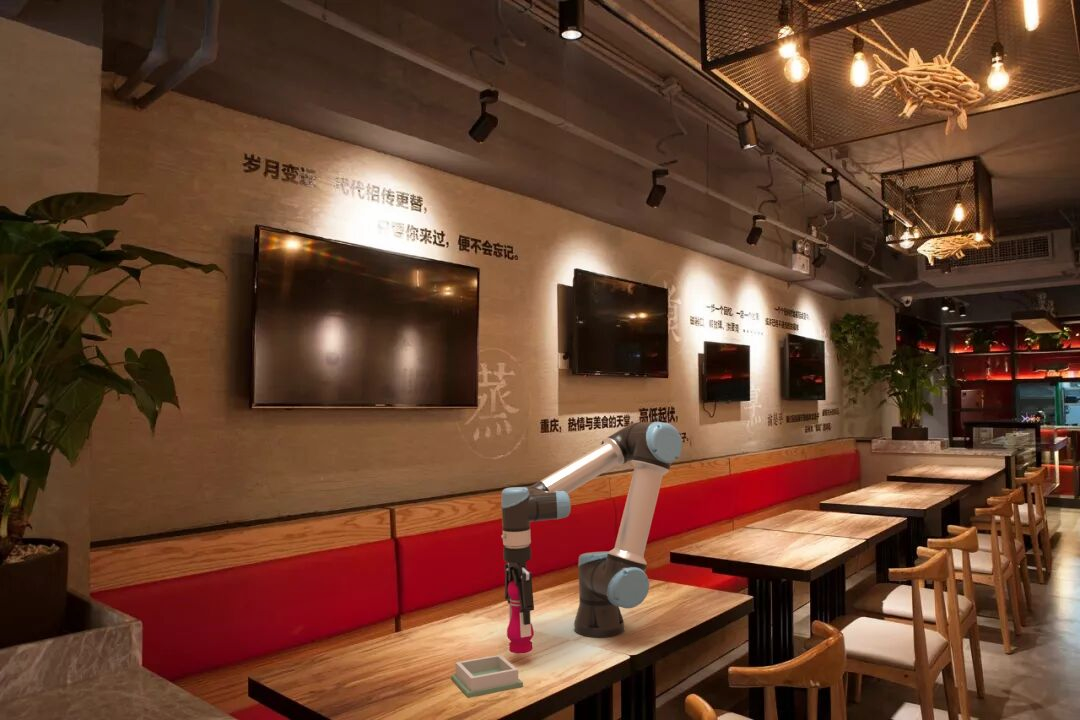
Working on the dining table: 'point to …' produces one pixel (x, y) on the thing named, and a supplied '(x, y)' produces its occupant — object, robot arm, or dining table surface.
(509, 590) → the pepper mill
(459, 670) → the deck socket
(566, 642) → the dining table surface
